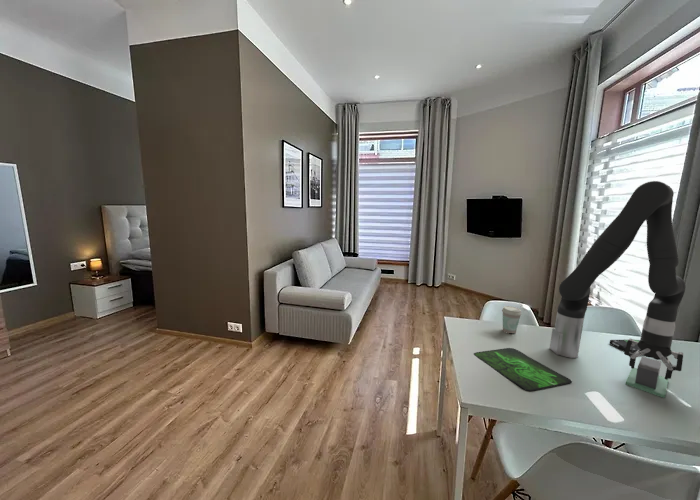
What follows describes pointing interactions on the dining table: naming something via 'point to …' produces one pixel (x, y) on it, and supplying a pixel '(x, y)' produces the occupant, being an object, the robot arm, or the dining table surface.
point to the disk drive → (624, 345)
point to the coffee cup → (510, 318)
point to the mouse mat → (522, 369)
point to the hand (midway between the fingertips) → (648, 373)
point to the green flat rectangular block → (658, 391)
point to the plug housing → (648, 372)
